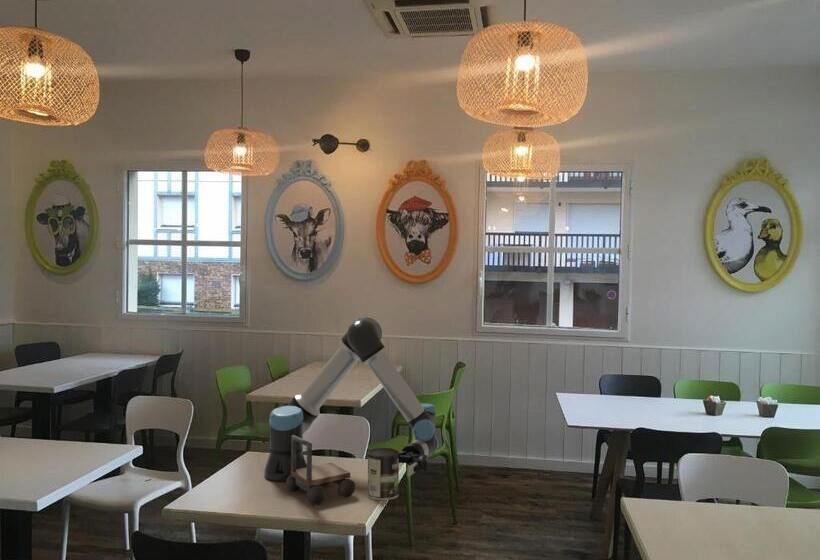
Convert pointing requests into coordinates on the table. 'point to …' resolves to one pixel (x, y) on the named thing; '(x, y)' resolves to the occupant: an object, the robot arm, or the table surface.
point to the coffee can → (383, 474)
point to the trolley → (317, 476)
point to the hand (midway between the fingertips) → (389, 469)
